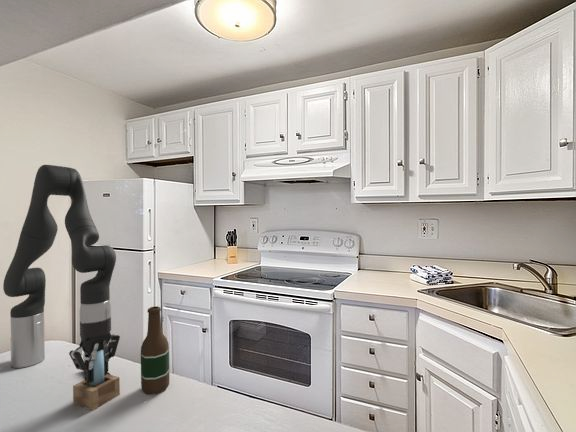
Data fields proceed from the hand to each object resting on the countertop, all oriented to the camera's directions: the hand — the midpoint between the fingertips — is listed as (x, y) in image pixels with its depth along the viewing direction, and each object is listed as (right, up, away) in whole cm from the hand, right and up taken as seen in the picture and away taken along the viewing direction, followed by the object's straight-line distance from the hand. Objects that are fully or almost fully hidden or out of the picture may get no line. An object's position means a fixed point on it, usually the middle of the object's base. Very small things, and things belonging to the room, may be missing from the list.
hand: (96, 378), depth 89 cm
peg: (0, -2, 0) cm, 2 cm away
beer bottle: (+14, -6, +5) cm, 16 cm away
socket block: (0, -6, 0) cm, 6 cm away
